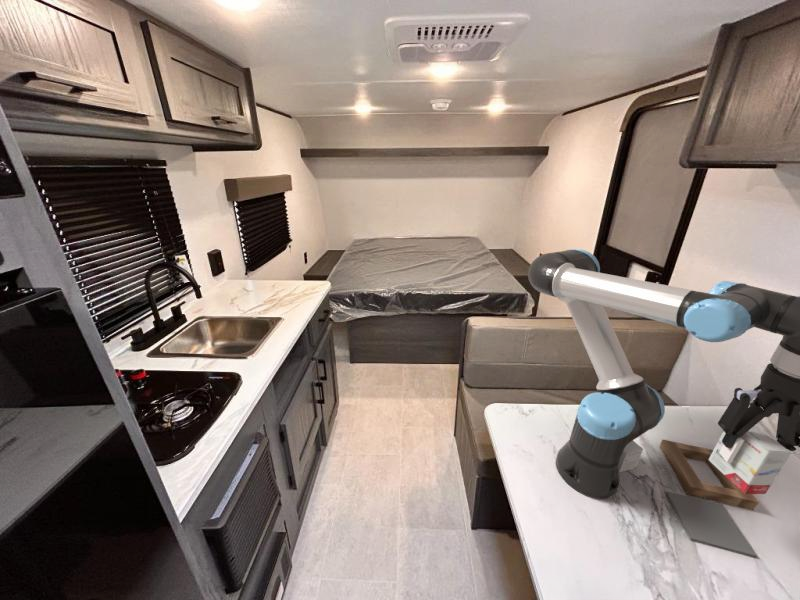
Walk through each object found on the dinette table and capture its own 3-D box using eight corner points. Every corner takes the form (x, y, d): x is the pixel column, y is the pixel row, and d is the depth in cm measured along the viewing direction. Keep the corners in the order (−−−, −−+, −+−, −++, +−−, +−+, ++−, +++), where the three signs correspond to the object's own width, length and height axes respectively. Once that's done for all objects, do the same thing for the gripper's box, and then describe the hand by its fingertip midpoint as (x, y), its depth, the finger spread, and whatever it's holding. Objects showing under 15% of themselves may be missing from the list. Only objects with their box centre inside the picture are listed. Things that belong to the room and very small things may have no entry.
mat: (690, 540, 72) (691, 538, 72) (665, 492, 83) (666, 490, 82) (755, 557, 69) (757, 556, 69) (721, 506, 80) (722, 504, 79)
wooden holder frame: (686, 494, 82) (690, 486, 81) (659, 446, 97) (662, 439, 95) (753, 510, 79) (758, 502, 78) (714, 458, 93) (719, 451, 92)
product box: (618, 473, 88) (626, 453, 85) (600, 455, 93) (607, 436, 90) (635, 468, 89) (644, 449, 86) (617, 451, 95) (624, 432, 92)
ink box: (766, 495, 66) (795, 453, 61) (743, 494, 66) (769, 452, 61) (727, 460, 74) (750, 420, 69) (706, 459, 74) (728, 420, 69)
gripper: (749, 373, 58) (700, 464, 67) (887, 394, 54) (815, 489, 62) (724, 352, 65) (682, 438, 74) (844, 369, 60) (785, 458, 69)
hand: (743, 461), depth 68 cm, fingers closed on ink box, 6 cm apart
